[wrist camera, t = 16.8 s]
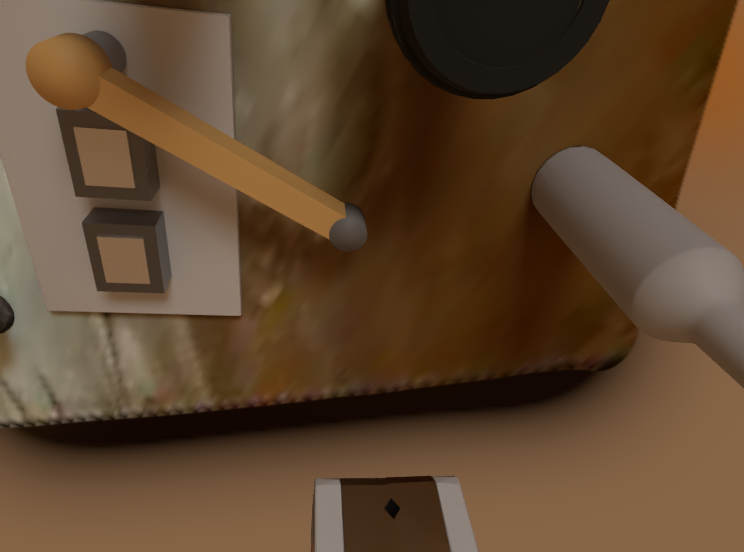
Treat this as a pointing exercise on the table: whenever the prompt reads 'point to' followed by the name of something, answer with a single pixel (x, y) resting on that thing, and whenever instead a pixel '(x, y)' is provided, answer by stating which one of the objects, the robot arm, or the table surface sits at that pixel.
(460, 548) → the robot arm
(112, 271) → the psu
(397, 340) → the table surface
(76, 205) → the board
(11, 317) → the dark grey tall piece
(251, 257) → the table surface
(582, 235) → the bottle
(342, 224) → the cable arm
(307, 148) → the table surface
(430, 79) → the coffee cup
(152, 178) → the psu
